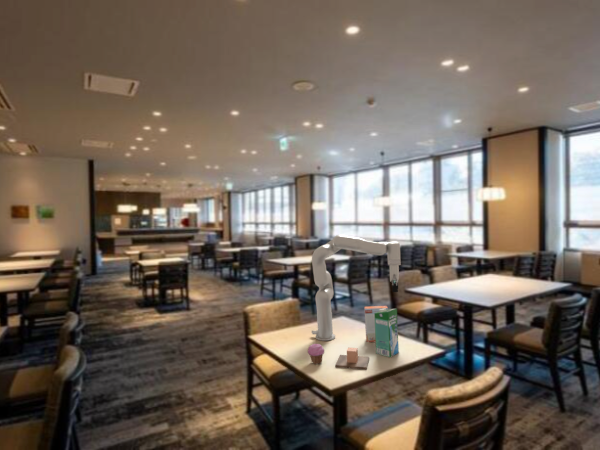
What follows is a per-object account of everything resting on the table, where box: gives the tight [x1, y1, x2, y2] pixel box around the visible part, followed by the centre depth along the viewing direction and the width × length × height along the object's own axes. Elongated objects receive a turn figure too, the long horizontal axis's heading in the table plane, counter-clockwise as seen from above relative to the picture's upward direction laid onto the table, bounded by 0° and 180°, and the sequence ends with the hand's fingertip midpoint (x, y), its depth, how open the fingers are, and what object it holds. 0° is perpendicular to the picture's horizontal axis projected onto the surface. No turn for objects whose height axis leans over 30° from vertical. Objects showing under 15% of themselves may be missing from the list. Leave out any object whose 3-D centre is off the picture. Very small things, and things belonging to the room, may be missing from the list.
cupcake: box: [307, 343, 325, 365], centre depth 192 cm, size 9×9×10 cm
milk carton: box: [374, 308, 400, 358], centre depth 201 cm, size 9×9×25 cm
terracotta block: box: [346, 347, 359, 363], centre depth 189 cm, size 5×5×6 cm
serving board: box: [334, 354, 370, 370], centre depth 189 cm, size 16×14×1 cm
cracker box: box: [363, 305, 389, 343], centre depth 222 cm, size 14×6×21 cm, turn 84°
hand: (395, 290), depth 218 cm, fingers open, 9 cm apart
